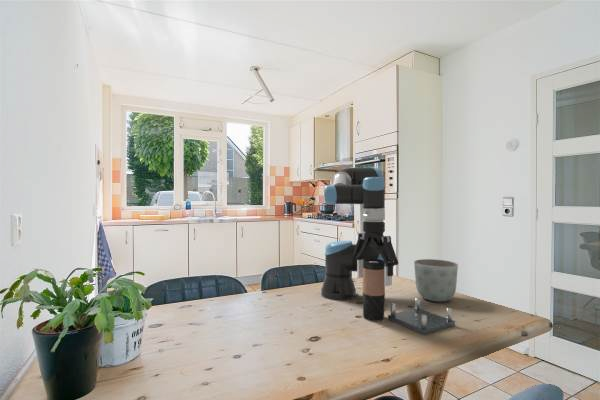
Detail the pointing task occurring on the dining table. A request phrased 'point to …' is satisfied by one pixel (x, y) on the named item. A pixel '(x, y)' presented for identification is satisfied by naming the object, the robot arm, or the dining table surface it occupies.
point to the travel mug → (373, 289)
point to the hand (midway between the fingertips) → (373, 281)
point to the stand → (421, 319)
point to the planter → (436, 279)
